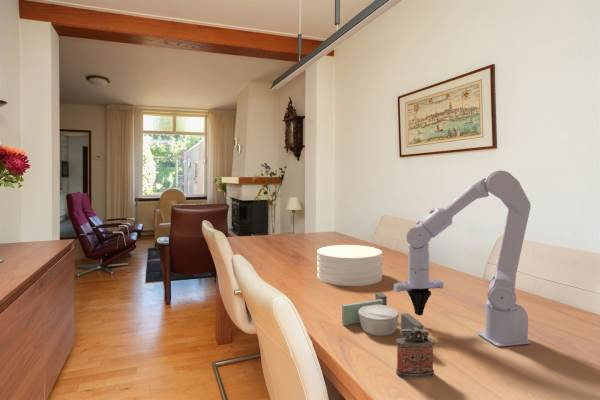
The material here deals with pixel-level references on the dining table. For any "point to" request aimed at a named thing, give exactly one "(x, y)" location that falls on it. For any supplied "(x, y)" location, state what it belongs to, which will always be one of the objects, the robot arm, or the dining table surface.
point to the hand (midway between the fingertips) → (418, 314)
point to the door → (355, 311)
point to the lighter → (414, 354)
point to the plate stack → (349, 265)
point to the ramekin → (378, 319)
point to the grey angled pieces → (402, 316)
